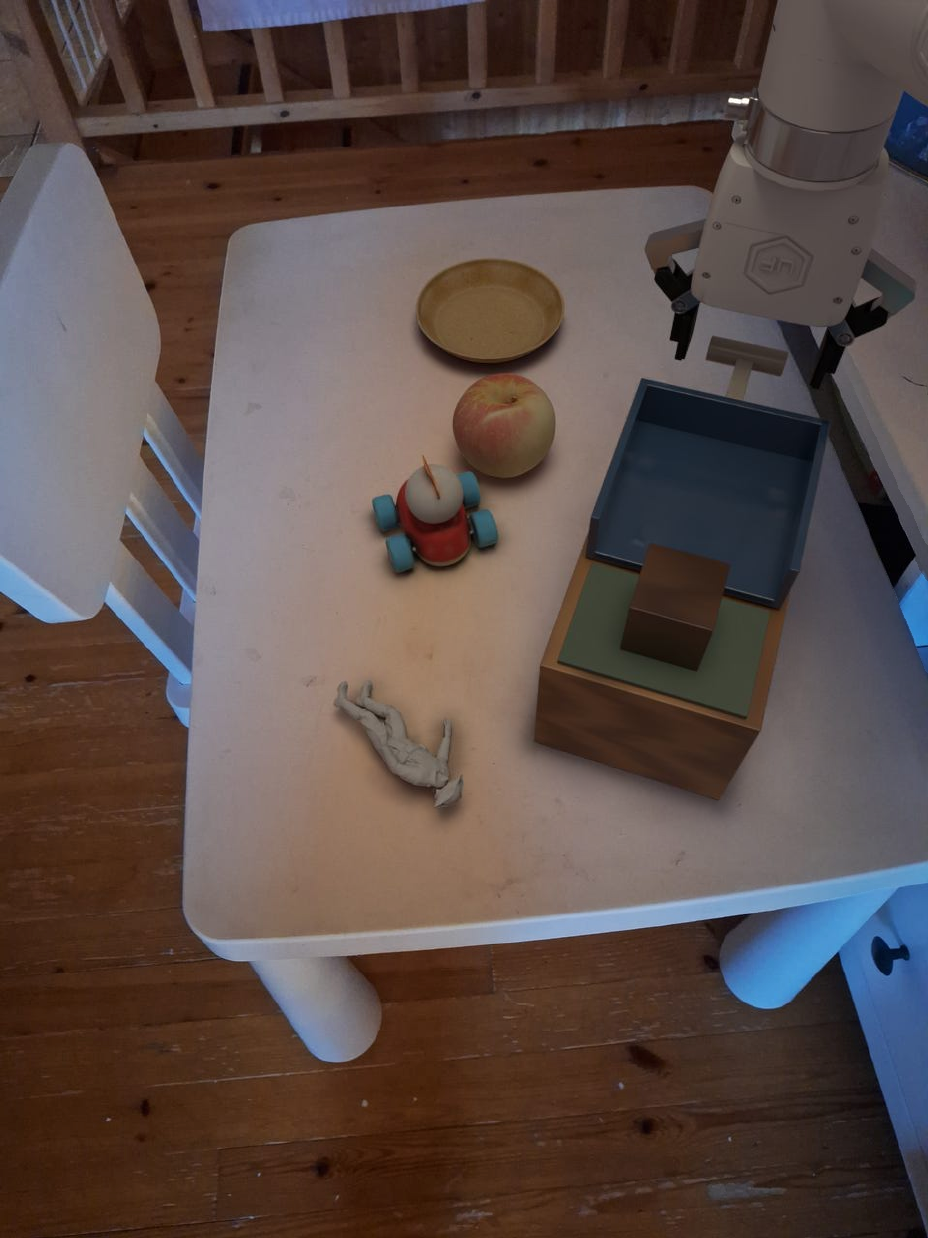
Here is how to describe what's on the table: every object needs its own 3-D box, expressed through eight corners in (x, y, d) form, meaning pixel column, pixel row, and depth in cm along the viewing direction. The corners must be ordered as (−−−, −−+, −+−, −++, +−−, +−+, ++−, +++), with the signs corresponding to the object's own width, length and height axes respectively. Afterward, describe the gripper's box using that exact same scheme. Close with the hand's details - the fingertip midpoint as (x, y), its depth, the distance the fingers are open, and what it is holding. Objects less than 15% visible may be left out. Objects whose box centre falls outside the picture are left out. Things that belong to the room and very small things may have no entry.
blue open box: (823, 407, 68) (845, 357, 64) (780, 610, 59) (802, 566, 55) (651, 369, 71) (661, 318, 66) (584, 556, 61) (591, 511, 57)
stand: (775, 553, 76) (818, 457, 66) (719, 800, 65) (760, 731, 55) (613, 511, 79) (630, 413, 68) (533, 741, 68) (539, 665, 57)
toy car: (469, 480, 81) (466, 400, 73) (502, 556, 77) (502, 479, 68) (371, 507, 80) (356, 428, 71) (398, 585, 75) (385, 511, 67)
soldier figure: (396, 678, 72) (507, 744, 65) (380, 733, 73) (487, 805, 66) (322, 680, 66) (434, 753, 59) (305, 740, 67) (414, 820, 60)
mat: (769, 614, 59) (770, 610, 58) (745, 719, 55) (747, 716, 55) (591, 565, 61) (591, 562, 61) (557, 663, 57) (557, 660, 57)
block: (730, 563, 54) (713, 631, 52) (713, 607, 59) (697, 671, 56) (649, 542, 56) (629, 607, 53) (638, 587, 60) (619, 649, 57)
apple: (440, 475, 81) (435, 412, 75) (482, 410, 86) (481, 344, 79) (529, 507, 79) (532, 444, 72) (567, 438, 83) (574, 372, 76)
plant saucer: (575, 289, 94) (577, 268, 92) (546, 388, 87) (548, 368, 84) (439, 270, 96) (437, 249, 94) (399, 365, 89) (397, 345, 87)
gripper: (651, 140, 51) (619, 371, 66) (975, 192, 47) (865, 424, 62) (681, 73, 55) (644, 305, 69) (983, 116, 51) (878, 352, 66)
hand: (748, 361), depth 66 cm, fingers open, 9 cm apart
